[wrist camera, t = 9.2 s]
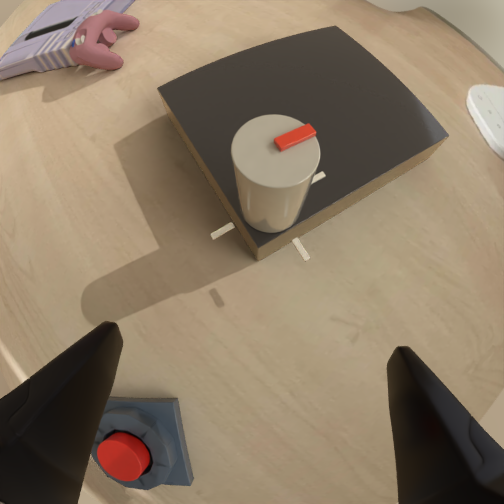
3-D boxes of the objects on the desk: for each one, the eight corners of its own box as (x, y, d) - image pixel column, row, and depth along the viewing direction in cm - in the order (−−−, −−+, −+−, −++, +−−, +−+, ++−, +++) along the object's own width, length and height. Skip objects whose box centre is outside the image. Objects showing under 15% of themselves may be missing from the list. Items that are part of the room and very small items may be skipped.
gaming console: (68, 47, 23) (-12, 72, 24) (80, 66, 27) (-1, 84, 28) (135, -21, 27) (48, 4, 28) (140, -4, 30) (55, 16, 32)
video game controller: (120, 38, 29) (85, 13, 23) (144, 21, 27) (108, -8, 21) (100, 86, 27) (56, 59, 21) (125, 66, 25) (79, 35, 19)
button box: (194, 478, 17) (185, 498, 14) (112, 471, 17) (96, 486, 14) (177, 397, 19) (165, 409, 16) (94, 395, 18) (73, 403, 16)
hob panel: (249, 301, 20) (246, 296, 16) (149, 127, 23) (134, 98, 19) (441, 176, 22) (465, 154, 18) (329, 53, 25) (335, 24, 21)
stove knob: (259, 244, 17) (260, 201, 11) (228, 193, 17) (214, 131, 11) (313, 214, 17) (339, 160, 11) (280, 166, 18) (289, 98, 12)
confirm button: (154, 473, 15) (146, 484, 13) (113, 468, 15) (103, 477, 13) (145, 433, 16) (135, 442, 14) (103, 429, 16) (91, 437, 14)
